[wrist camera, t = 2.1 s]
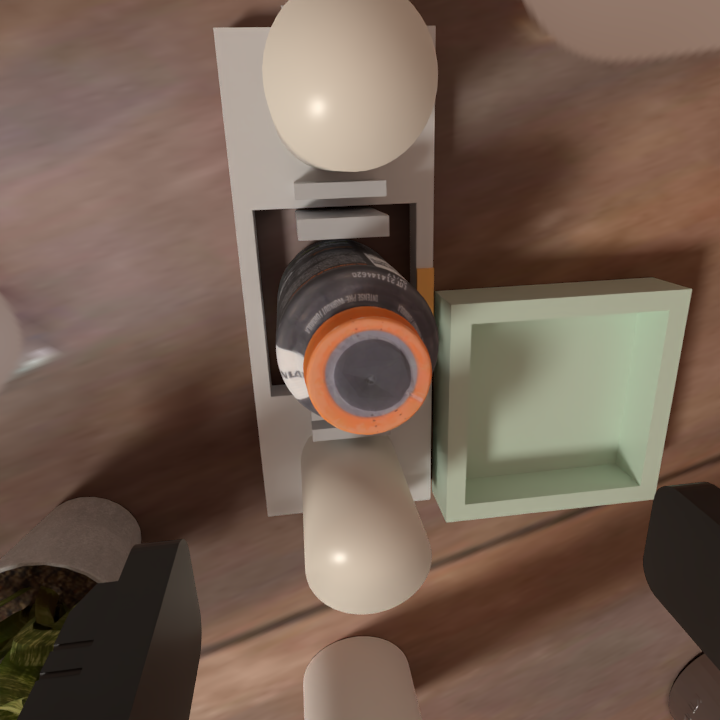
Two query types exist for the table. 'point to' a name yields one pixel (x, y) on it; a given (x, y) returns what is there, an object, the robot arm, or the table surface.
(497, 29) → the table surface
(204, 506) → the table surface
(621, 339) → the tray
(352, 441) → the block
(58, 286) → the table surface
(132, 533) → the house plant
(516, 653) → the table surface
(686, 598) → the robot arm
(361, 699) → the cylindrical container
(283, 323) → the pill bottle
